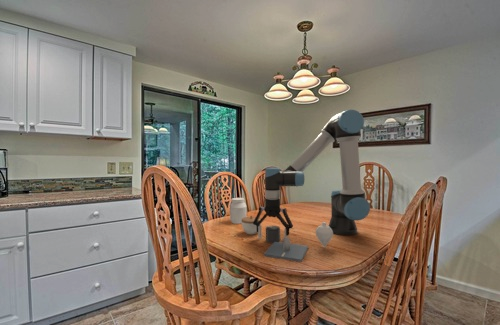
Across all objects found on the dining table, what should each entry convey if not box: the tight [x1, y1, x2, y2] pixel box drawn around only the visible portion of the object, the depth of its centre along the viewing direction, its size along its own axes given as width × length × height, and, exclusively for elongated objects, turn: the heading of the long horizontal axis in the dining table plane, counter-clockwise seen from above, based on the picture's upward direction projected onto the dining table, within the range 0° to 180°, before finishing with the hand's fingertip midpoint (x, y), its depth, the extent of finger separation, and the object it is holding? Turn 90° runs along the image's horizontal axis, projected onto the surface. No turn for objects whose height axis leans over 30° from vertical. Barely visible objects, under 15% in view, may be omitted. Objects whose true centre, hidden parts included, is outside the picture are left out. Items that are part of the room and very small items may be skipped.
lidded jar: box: [241, 215, 262, 235], centre depth 135 cm, size 11×11×9 cm
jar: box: [229, 197, 248, 225], centre depth 159 cm, size 12×10×15 cm
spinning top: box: [315, 221, 334, 249], centre depth 111 cm, size 8×8×12 cm
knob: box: [265, 225, 281, 244], centre depth 122 cm, size 7×7×7 cm
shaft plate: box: [263, 236, 309, 263], centre depth 107 cm, size 16×16×6 cm
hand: (272, 240), depth 122 cm, fingers open, 13 cm apart
